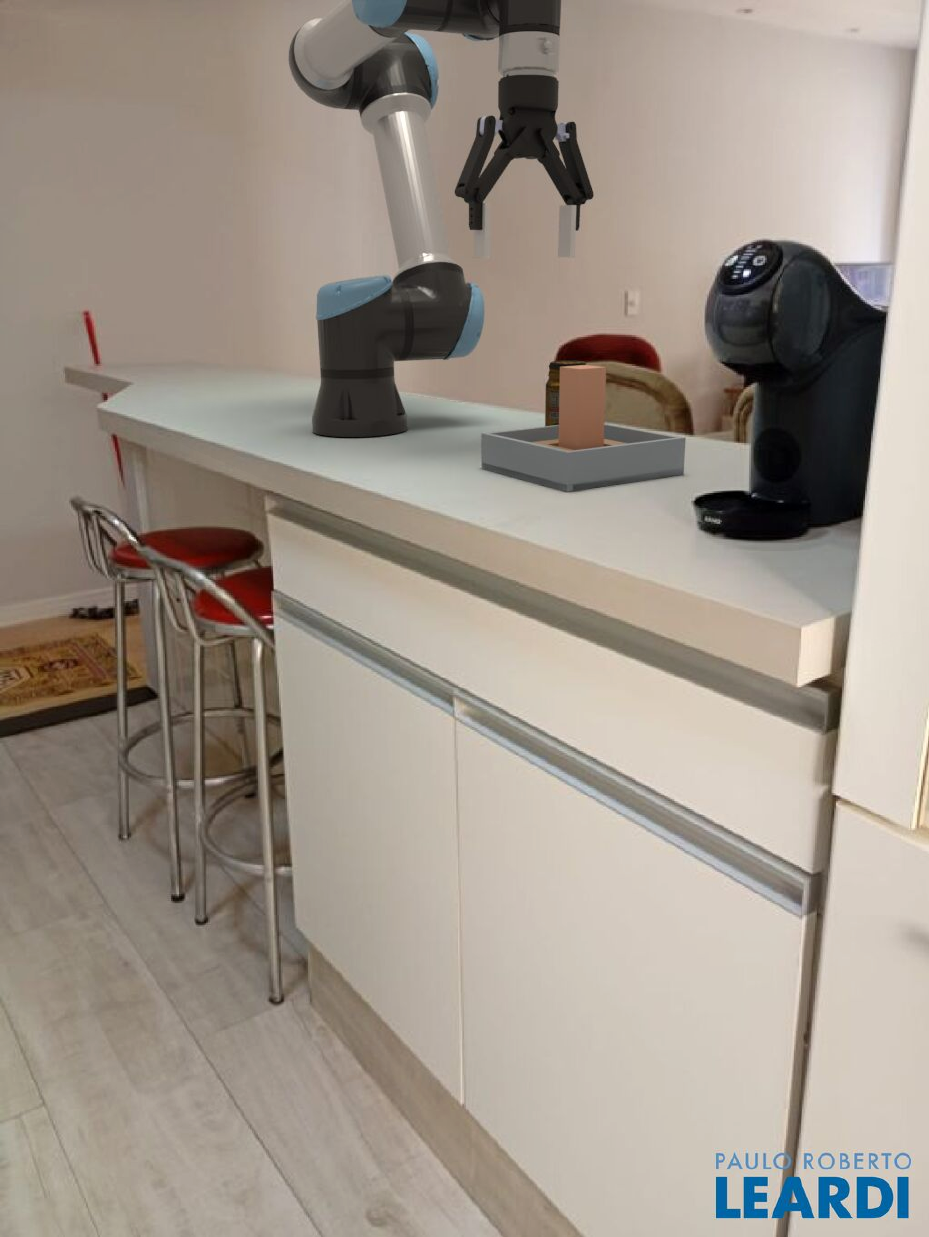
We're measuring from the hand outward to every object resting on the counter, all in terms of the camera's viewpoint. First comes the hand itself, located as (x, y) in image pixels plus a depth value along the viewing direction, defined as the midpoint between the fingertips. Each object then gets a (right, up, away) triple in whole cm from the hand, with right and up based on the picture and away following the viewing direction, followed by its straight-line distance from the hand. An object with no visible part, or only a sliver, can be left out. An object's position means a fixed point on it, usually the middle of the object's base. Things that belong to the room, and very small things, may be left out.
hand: (525, 258), depth 133 cm
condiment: (+6, -23, +12) cm, 27 cm away
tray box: (+7, -29, -6) cm, 30 cm away
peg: (+7, -28, -6) cm, 30 cm away
